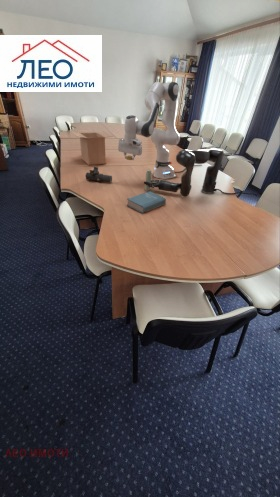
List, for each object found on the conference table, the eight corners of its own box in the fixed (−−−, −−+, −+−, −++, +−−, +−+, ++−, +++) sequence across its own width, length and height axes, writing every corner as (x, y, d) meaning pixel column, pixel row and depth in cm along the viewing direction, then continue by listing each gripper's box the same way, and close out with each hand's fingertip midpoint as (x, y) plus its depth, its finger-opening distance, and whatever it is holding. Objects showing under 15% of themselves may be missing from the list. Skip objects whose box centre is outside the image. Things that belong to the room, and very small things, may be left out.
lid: (133, 160, 175) (133, 157, 174) (127, 160, 174) (127, 157, 172) (131, 158, 179) (131, 155, 178) (125, 158, 177) (125, 155, 176)
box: (116, 165, 229) (116, 136, 213) (83, 168, 214) (80, 137, 198) (102, 154, 259) (101, 128, 243) (71, 156, 244) (68, 129, 228)
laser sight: (109, 184, 185) (109, 172, 179) (84, 181, 187) (82, 169, 182) (112, 180, 192) (112, 169, 186) (88, 177, 195) (87, 166, 189)
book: (149, 197, 168) (149, 191, 165) (165, 204, 160) (166, 198, 157) (127, 205, 155) (127, 198, 152) (143, 213, 146) (143, 207, 143)
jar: (145, 188, 183) (147, 169, 173) (150, 189, 182) (152, 169, 173) (144, 190, 180) (145, 170, 170) (149, 191, 179) (151, 171, 169)
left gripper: (116, 138, 170) (116, 157, 178) (139, 143, 162) (138, 162, 170) (121, 137, 174) (120, 156, 182) (143, 141, 167) (142, 160, 175)
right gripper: (168, 178, 177) (148, 174, 181) (163, 183, 166) (142, 179, 170) (167, 187, 181) (147, 183, 185) (162, 193, 170) (141, 189, 175)
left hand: (129, 159), depth 176 cm, fingers closed on lid, 5 cm apart
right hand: (145, 181), depth 178 cm, fingers closed on jar, 4 cm apart
